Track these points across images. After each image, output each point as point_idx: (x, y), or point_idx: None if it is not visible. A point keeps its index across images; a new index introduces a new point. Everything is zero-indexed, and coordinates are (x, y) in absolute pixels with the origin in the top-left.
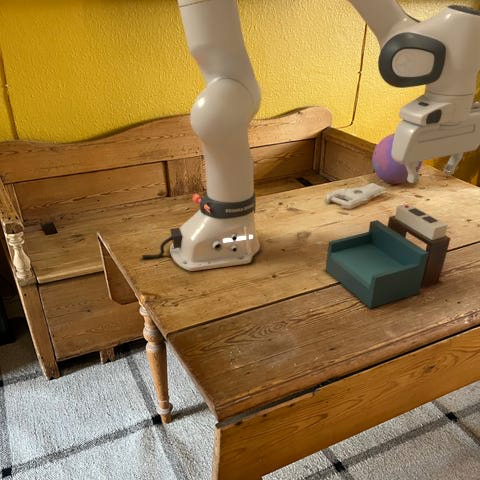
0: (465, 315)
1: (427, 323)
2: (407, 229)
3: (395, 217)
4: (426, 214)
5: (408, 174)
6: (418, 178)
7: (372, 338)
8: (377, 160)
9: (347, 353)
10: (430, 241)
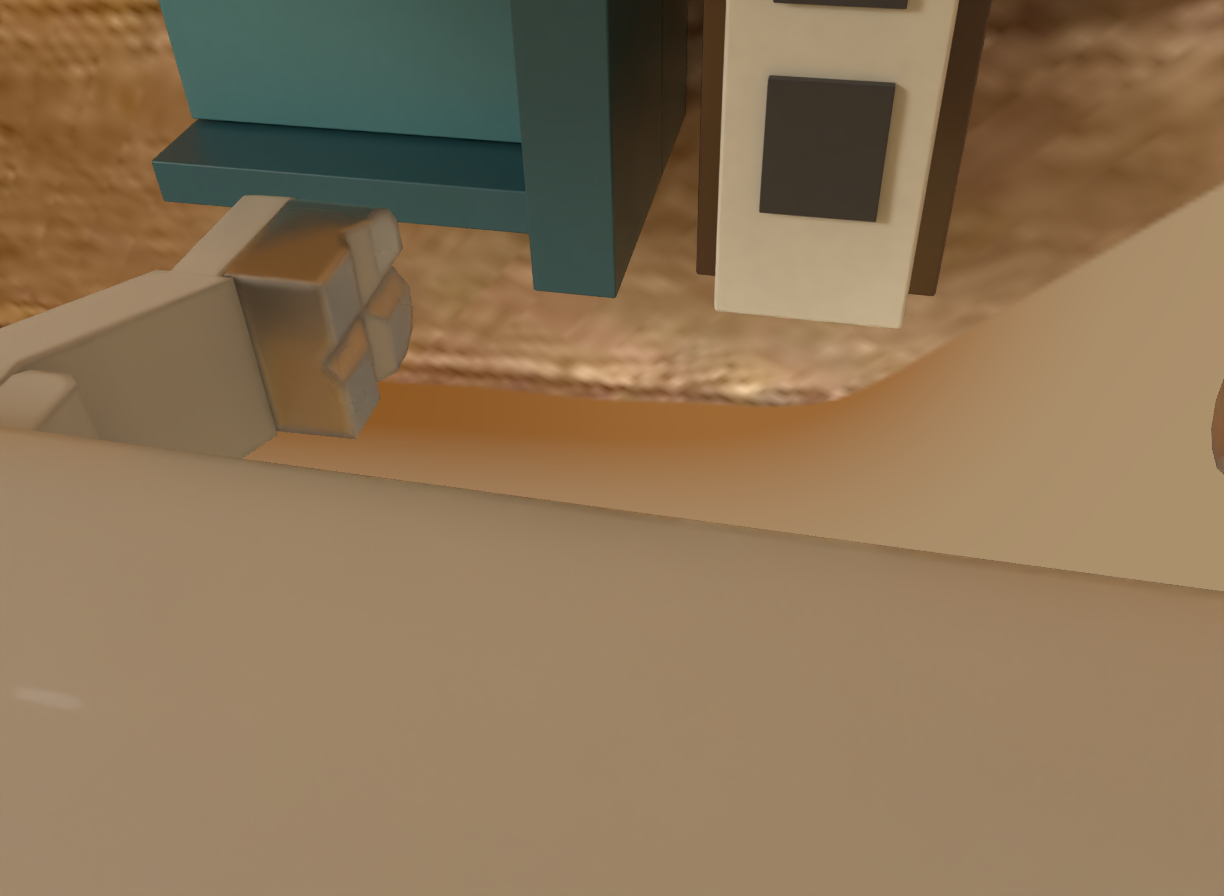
0: (762, 400)
1: (520, 344)
2: None
3: None
4: (924, 9)
5: (197, 259)
6: (378, 377)
7: None
8: None
9: (40, 304)
10: (701, 246)
